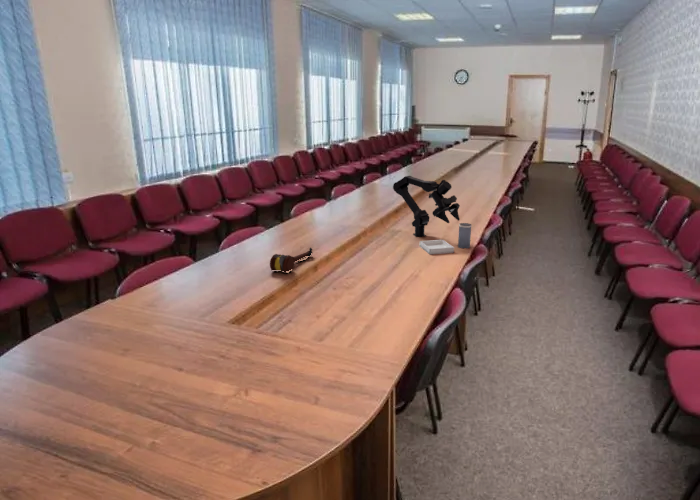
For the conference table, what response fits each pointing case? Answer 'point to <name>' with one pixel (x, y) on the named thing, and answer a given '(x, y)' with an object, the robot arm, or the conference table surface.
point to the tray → (436, 247)
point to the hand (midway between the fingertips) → (454, 221)
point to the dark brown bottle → (286, 261)
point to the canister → (464, 235)
